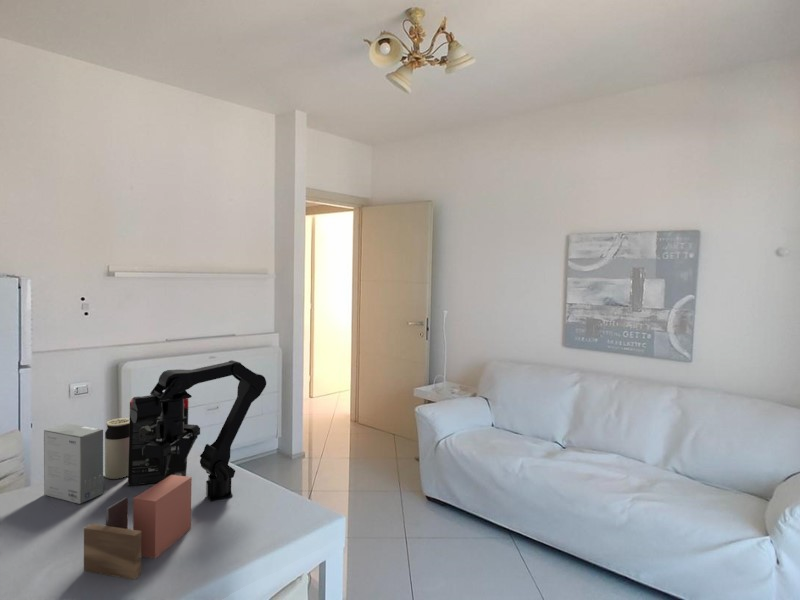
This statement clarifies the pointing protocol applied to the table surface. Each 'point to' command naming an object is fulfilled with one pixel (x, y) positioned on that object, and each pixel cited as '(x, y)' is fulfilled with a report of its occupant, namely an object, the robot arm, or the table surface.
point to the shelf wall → (112, 551)
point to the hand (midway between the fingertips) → (173, 468)
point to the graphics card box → (145, 467)
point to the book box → (163, 514)
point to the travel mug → (117, 448)
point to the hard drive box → (73, 462)
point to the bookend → (118, 514)
